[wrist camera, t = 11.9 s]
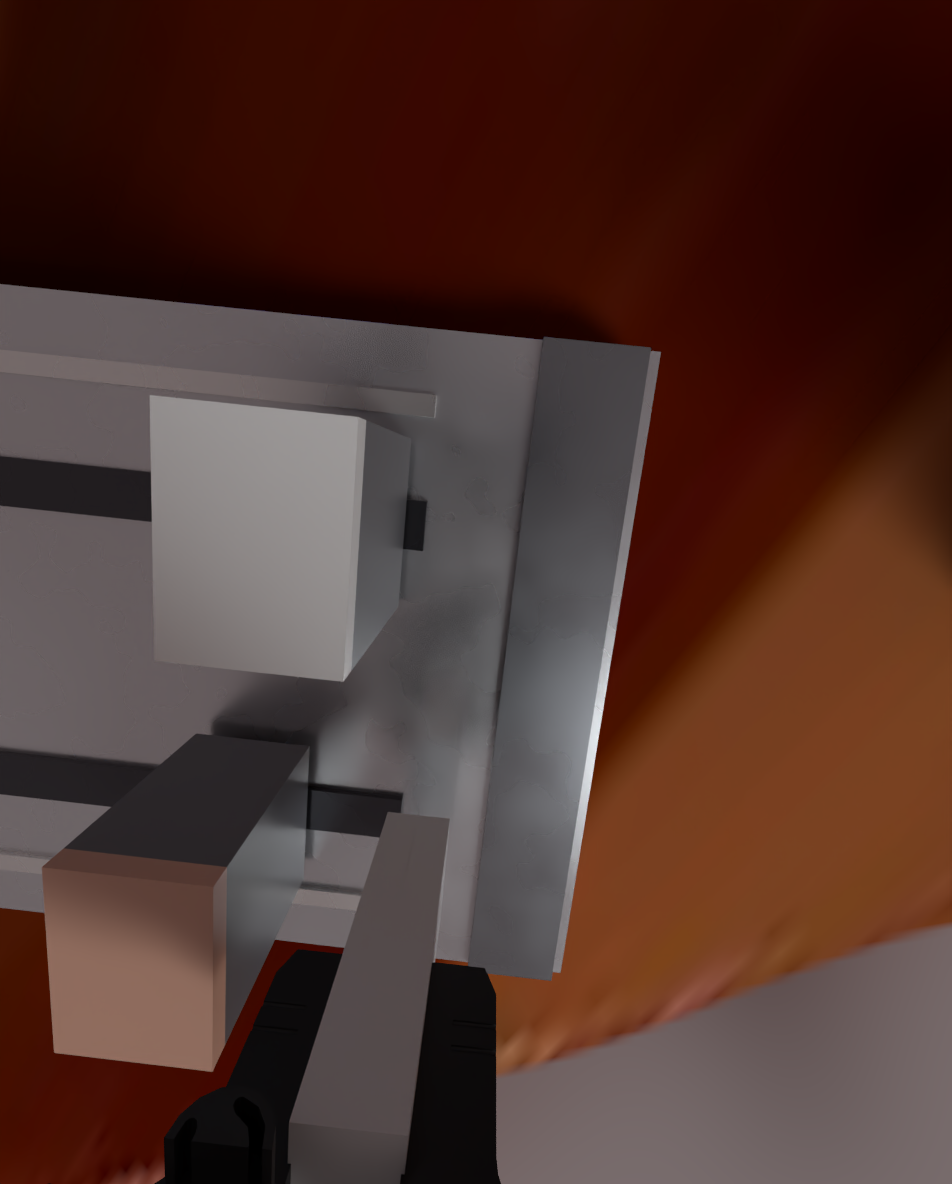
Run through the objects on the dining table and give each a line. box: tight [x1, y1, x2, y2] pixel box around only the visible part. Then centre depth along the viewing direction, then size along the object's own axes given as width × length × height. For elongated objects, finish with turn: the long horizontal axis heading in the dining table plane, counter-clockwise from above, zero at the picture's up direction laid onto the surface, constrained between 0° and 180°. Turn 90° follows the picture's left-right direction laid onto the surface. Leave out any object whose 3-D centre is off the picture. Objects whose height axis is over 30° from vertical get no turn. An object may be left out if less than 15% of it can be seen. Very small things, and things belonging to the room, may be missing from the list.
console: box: [0, 284, 661, 981], centre depth 15 cm, size 17×26×2 cm, turn 84°
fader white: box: [150, 395, 411, 682], centre depth 11 cm, size 4×3×5 cm
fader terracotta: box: [42, 733, 310, 1072], centre depth 13 cm, size 4×3×5 cm
